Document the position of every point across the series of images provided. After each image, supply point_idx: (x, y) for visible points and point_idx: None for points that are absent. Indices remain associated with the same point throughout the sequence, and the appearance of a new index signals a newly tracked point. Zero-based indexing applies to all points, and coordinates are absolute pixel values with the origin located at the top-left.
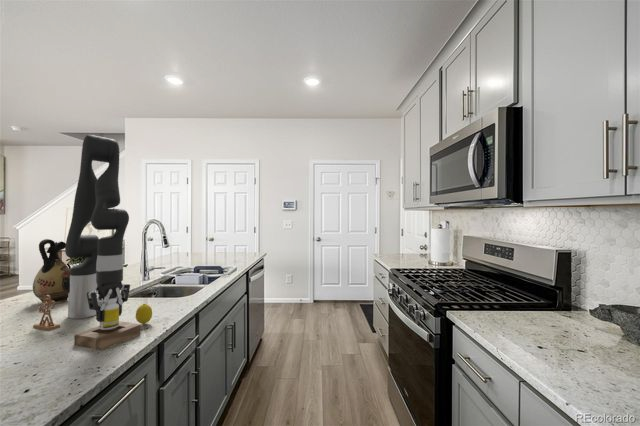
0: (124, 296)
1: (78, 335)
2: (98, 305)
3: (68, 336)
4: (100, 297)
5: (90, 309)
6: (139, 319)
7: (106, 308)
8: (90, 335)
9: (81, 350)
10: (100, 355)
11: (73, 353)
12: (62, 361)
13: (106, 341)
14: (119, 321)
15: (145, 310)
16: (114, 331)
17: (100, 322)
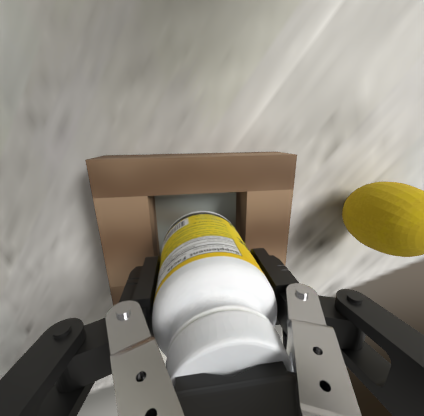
0: (359, 371)
1: (91, 189)
2: (127, 338)
3: (153, 8)
4: (145, 405)
5: (59, 325)
6: (346, 220)
7: (165, 353)
8: (117, 240)
9: (93, 226)
10: (103, 309)
11: (64, 227)
12: (12, 257)
13: None
14: (291, 188)
15: (389, 252)
16: None
17: (161, 255)
